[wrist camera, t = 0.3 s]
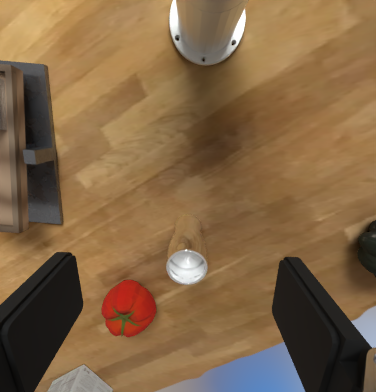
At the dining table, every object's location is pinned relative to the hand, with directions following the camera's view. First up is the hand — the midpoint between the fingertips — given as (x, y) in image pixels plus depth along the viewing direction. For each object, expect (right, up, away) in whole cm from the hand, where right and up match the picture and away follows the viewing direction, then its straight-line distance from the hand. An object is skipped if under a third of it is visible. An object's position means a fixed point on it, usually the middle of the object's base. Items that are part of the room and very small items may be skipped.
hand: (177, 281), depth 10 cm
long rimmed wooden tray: (-33, +12, +29) cm, 46 cm away
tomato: (-13, -21, +45) cm, 52 cm away
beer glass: (+1, -3, +39) cm, 39 cm away
